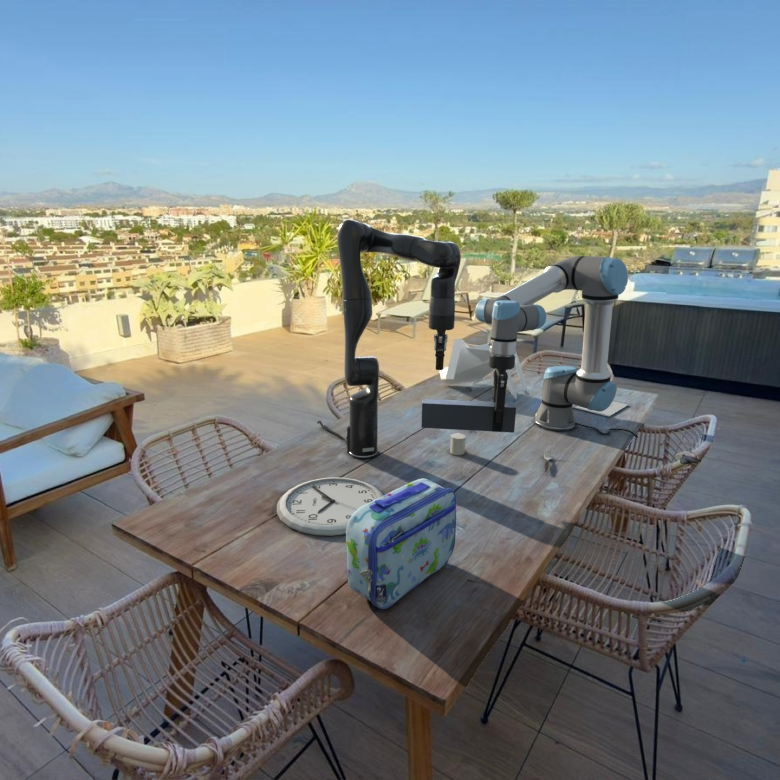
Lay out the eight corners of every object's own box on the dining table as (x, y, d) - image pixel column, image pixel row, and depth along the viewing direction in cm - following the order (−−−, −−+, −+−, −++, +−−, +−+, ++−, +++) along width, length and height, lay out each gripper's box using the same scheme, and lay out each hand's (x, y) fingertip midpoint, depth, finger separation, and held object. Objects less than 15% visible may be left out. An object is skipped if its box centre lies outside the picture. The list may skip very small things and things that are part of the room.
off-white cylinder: (464, 449, 180) (465, 433, 178) (464, 455, 175) (465, 439, 174) (450, 448, 181) (450, 432, 179) (449, 454, 176) (450, 438, 174)
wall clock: (392, 527, 129) (268, 531, 127) (391, 533, 130) (269, 537, 127) (383, 473, 158) (282, 475, 155) (383, 478, 158) (282, 480, 156)
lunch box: (375, 622, 100) (376, 527, 94) (339, 595, 108) (338, 505, 101) (459, 565, 118) (465, 481, 112) (424, 545, 125) (427, 465, 119)
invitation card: (608, 416, 214) (573, 407, 224) (608, 416, 214) (573, 408, 224) (628, 404, 229) (594, 396, 238) (628, 405, 229) (594, 397, 238)
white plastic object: (461, 429, 252) (437, 405, 227) (444, 352, 274) (420, 323, 250) (535, 404, 240) (518, 377, 215) (510, 326, 262) (492, 293, 237)
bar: (512, 427, 162) (514, 402, 159) (514, 432, 158) (516, 407, 155) (422, 422, 165) (423, 398, 163) (421, 427, 161) (422, 403, 158)
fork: (540, 473, 163) (541, 467, 163) (544, 453, 178) (545, 448, 177) (549, 474, 162) (550, 468, 162) (552, 454, 177) (553, 449, 176)
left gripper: (430, 308, 160) (428, 360, 165) (427, 315, 147) (426, 371, 151) (454, 309, 159) (452, 361, 164) (454, 316, 146) (452, 372, 150)
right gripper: (487, 347, 162) (482, 417, 169) (491, 360, 145) (485, 438, 152) (512, 348, 161) (506, 418, 168) (518, 362, 144) (511, 440, 151)
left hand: (439, 366), depth 158 cm, fingers open, 8 cm apart
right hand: (496, 428), depth 160 cm, fingers closed on bar, 4 cm apart
